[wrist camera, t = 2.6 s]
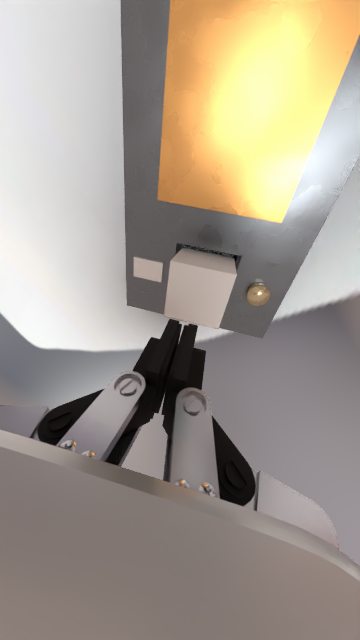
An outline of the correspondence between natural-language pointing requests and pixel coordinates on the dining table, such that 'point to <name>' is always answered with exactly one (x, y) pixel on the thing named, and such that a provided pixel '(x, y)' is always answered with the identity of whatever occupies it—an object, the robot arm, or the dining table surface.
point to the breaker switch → (199, 287)
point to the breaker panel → (235, 139)
